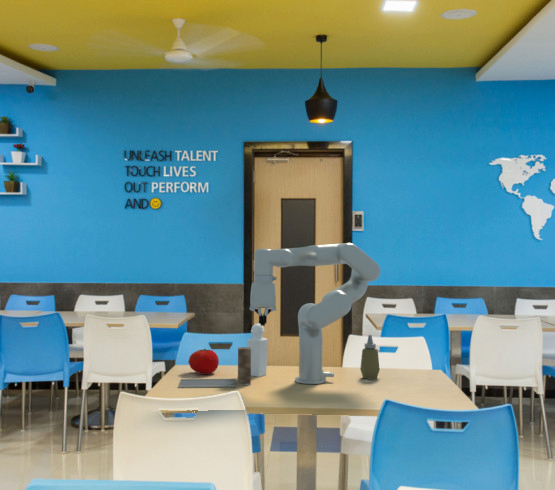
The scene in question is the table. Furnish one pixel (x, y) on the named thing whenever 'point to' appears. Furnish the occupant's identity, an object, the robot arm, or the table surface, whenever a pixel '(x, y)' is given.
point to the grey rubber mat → (206, 383)
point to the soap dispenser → (258, 351)
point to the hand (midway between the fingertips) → (262, 325)
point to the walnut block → (244, 365)
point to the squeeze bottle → (370, 360)
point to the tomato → (204, 361)
